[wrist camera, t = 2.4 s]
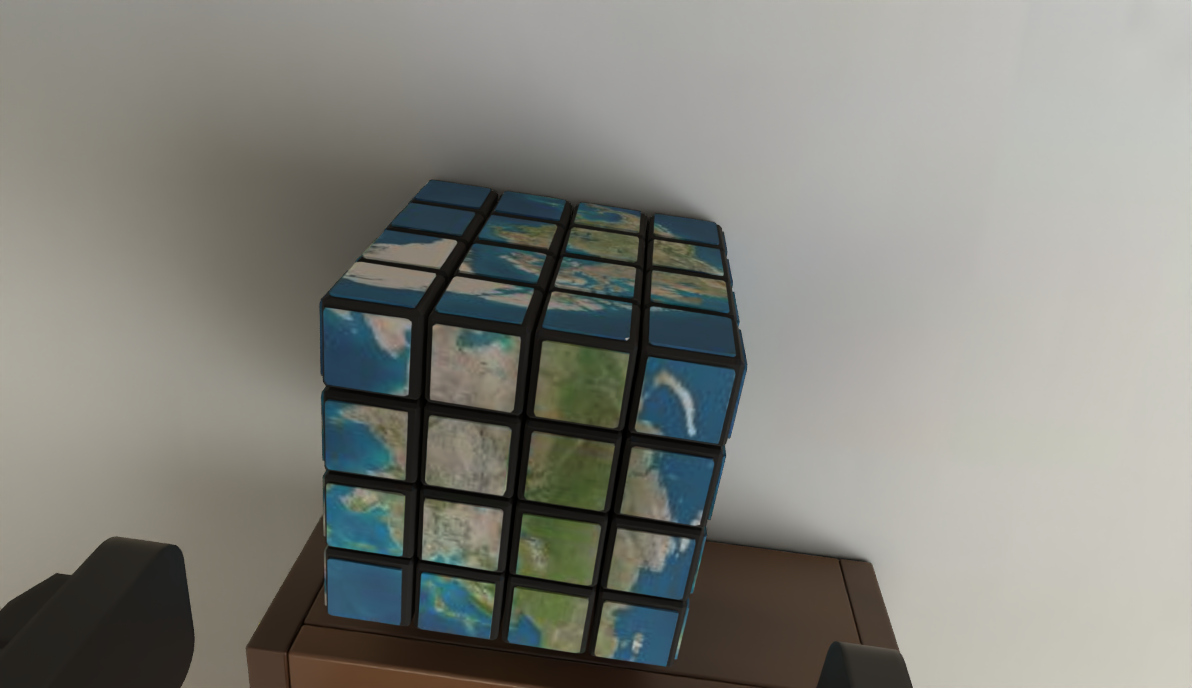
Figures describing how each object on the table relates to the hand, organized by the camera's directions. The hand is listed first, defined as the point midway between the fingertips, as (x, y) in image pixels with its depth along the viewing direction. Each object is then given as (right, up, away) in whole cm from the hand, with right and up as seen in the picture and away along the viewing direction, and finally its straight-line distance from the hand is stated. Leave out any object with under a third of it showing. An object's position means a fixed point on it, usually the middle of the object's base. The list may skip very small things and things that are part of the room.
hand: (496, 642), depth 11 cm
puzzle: (0, +4, +8) cm, 9 cm away
